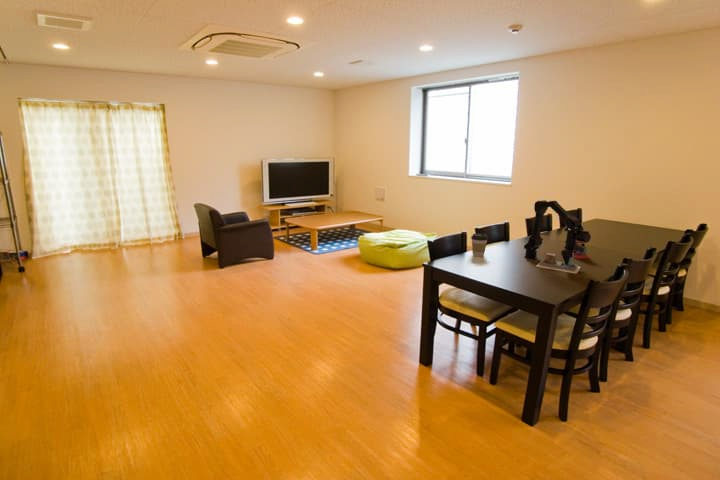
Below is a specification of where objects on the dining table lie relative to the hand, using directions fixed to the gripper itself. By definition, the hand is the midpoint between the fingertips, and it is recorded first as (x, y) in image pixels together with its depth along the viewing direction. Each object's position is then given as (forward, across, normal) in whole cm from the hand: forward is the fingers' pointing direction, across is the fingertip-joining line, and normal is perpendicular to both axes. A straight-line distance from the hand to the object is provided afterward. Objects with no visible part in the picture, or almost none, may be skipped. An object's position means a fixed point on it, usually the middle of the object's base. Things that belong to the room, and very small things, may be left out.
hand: (568, 263), depth 253 cm
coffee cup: (+4, -6, +55) cm, 56 cm away
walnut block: (+3, 0, +10) cm, 11 cm away
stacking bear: (+4, +34, -1) cm, 34 cm away
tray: (+4, 0, +5) cm, 6 cm away
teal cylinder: (+3, 0, 0) cm, 3 cm away
